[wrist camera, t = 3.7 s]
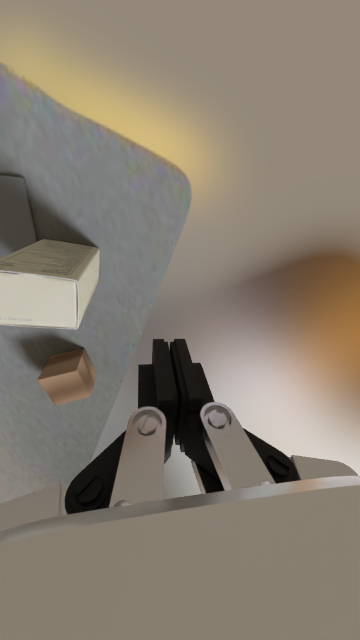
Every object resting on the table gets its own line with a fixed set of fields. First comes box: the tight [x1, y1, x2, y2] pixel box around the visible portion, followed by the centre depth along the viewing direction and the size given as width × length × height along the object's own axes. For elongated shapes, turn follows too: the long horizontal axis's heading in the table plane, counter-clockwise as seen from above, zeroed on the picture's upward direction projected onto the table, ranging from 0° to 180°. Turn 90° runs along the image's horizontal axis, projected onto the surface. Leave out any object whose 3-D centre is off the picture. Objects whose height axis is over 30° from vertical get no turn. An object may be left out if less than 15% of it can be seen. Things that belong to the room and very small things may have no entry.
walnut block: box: [38, 348, 97, 405], centre depth 32 cm, size 5×5×5 cm
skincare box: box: [0, 239, 100, 329], centre depth 21 cm, size 6×4×12 cm
